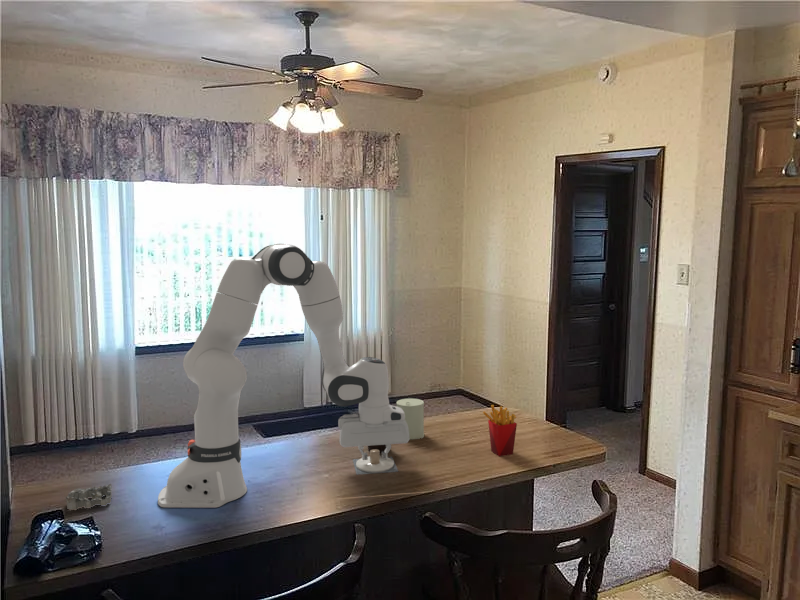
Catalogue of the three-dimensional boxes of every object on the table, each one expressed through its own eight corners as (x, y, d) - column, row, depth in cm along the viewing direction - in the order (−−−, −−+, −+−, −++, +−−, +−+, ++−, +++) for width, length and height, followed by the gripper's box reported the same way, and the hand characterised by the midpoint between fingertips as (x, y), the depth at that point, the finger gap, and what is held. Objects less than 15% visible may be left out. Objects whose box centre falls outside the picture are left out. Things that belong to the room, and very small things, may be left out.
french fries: (506, 447, 210) (506, 401, 209) (520, 456, 203) (520, 408, 201) (481, 451, 207) (481, 404, 205) (494, 460, 200) (494, 411, 198)
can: (393, 439, 220) (392, 403, 218) (401, 430, 228) (400, 396, 227) (420, 441, 217) (419, 405, 216) (427, 432, 226) (427, 398, 224)
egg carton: (64, 513, 168) (63, 498, 167) (70, 501, 175) (68, 486, 174) (110, 507, 171) (109, 492, 170) (114, 495, 178) (113, 481, 177)
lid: (358, 473, 190) (358, 459, 189) (354, 459, 200) (354, 445, 200) (396, 470, 191) (396, 456, 191) (390, 457, 202) (390, 443, 202)
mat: (356, 475, 189) (356, 474, 189) (352, 460, 201) (352, 459, 201) (398, 472, 191) (398, 471, 191) (392, 457, 203) (392, 456, 203)
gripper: (338, 418, 189) (339, 465, 191) (410, 414, 192) (410, 460, 194) (337, 411, 195) (338, 457, 197) (406, 407, 199) (406, 452, 200)
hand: (374, 458), depth 196 cm, fingers open, 4 cm apart
